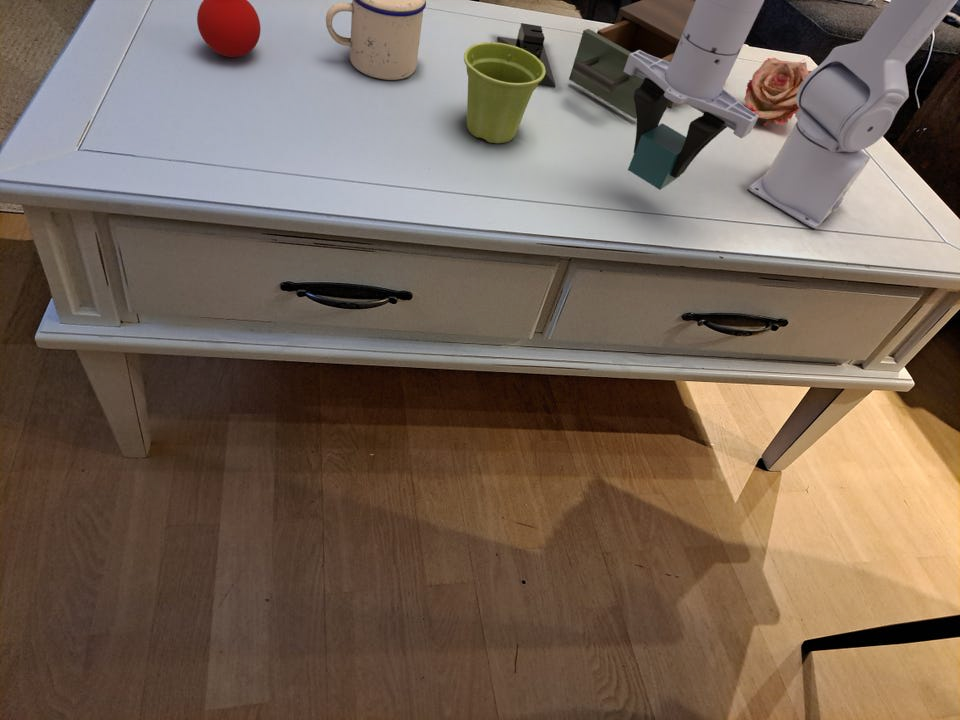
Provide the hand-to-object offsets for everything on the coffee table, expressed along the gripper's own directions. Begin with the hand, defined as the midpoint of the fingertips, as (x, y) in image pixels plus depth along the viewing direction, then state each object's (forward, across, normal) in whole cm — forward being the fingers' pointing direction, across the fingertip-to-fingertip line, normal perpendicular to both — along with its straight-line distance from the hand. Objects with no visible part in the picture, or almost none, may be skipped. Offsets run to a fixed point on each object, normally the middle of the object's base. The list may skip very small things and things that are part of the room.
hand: (658, 162), depth 76 cm
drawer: (+5, -16, +19) cm, 25 cm away
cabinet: (+6, -16, +31) cm, 35 cm away
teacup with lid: (+6, -39, -6) cm, 40 cm away
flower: (+6, 0, +35) cm, 35 cm away
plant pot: (+6, -20, -4) cm, 21 cm away
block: (+1, 0, 0) cm, 1 cm away
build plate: (+6, -29, +14) cm, 33 cm away
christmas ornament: (+6, -49, -20) cm, 53 cm away
